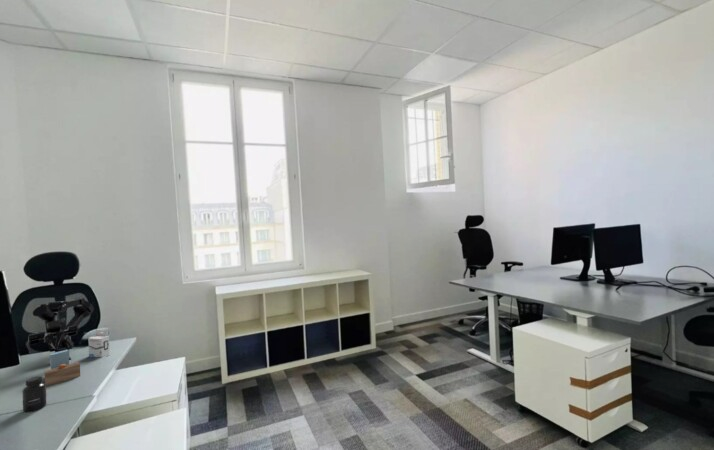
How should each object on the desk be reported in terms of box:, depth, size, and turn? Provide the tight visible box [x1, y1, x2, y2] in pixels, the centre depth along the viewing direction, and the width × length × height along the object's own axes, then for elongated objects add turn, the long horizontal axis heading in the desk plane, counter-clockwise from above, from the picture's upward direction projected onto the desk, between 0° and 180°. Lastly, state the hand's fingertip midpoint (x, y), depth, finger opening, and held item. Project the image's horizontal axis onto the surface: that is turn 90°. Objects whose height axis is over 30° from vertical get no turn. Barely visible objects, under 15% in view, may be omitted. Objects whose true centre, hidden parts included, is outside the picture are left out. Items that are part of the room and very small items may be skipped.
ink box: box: [87, 329, 111, 358], centre depth 180 cm, size 8×5×15 cm, turn 84°
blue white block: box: [49, 350, 70, 369], centre depth 157 cm, size 4×6×11 cm, turn 140°
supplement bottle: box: [22, 375, 47, 413], centre depth 130 cm, size 7×7×12 cm
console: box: [42, 361, 81, 387], centre depth 155 cm, size 13×12×8 cm
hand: (56, 348), depth 162 cm, fingers closed
